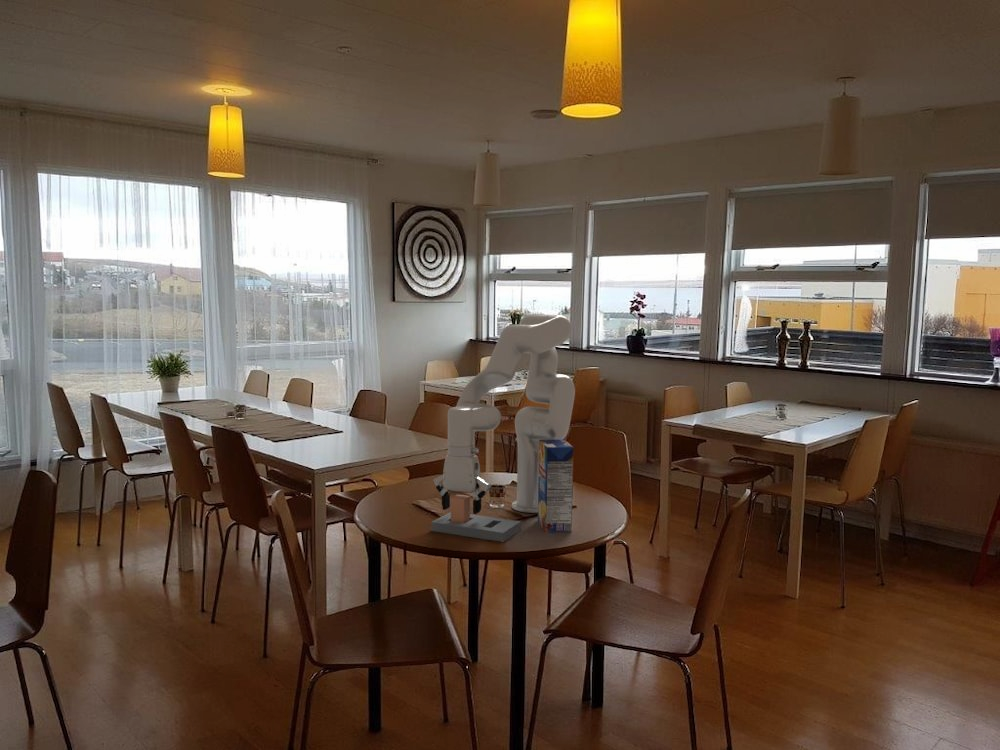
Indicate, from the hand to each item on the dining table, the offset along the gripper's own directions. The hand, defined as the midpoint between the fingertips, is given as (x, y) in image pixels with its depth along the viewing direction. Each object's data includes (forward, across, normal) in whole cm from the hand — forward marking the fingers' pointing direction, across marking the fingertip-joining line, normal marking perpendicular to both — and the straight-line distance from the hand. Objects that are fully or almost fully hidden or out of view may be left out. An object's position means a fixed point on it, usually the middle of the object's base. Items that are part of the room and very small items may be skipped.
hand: (461, 510), depth 215 cm
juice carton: (+5, -23, -14) cm, 27 cm away
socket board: (+5, -5, 0) cm, 7 cm away
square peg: (+5, 0, 0) cm, 5 cm away
